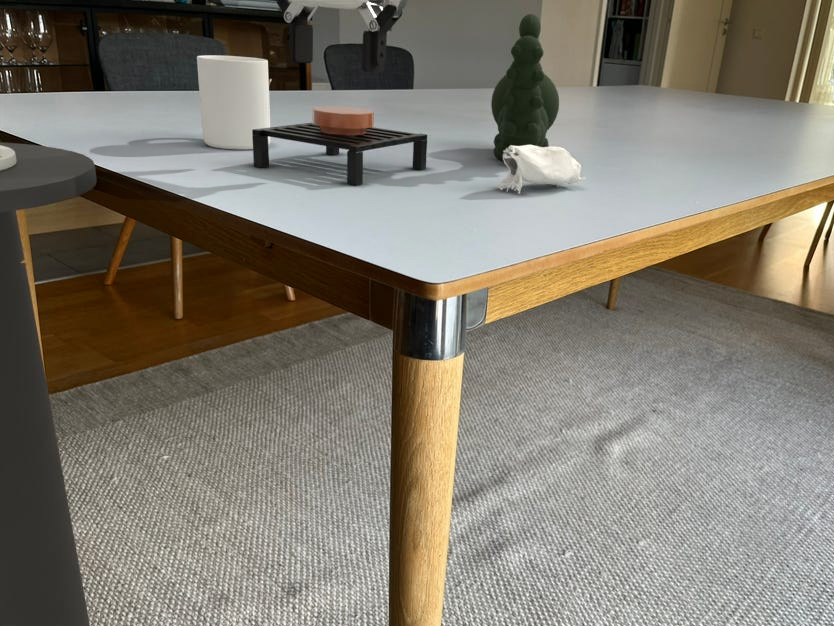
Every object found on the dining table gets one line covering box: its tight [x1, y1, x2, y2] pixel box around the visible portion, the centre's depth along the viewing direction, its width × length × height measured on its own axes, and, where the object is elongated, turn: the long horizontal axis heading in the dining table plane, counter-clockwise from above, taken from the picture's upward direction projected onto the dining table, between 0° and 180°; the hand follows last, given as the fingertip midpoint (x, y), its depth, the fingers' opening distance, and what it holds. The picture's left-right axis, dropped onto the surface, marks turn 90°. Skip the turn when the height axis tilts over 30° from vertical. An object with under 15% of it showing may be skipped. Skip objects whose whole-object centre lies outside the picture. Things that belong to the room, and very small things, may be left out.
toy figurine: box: [490, 13, 560, 161], centre depth 101 cm, size 9×19×25 cm
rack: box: [252, 122, 428, 186], centre depth 88 cm, size 14×14×4 cm
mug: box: [196, 54, 272, 151], centre depth 97 cm, size 12×8×10 cm
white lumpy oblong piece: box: [499, 145, 586, 195], centre depth 84 cm, size 5×7×10 cm
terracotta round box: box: [311, 105, 375, 135], centre depth 86 cm, size 7×7×2 cm
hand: (336, 67), depth 83 cm, fingers open, 9 cm apart
